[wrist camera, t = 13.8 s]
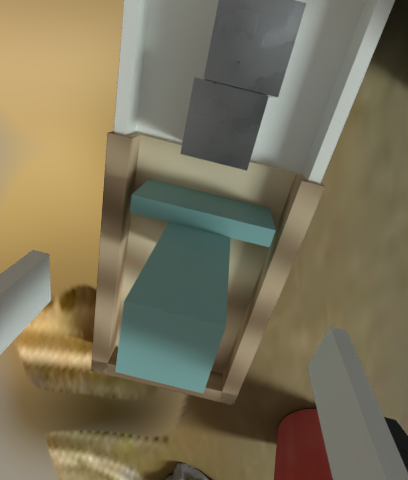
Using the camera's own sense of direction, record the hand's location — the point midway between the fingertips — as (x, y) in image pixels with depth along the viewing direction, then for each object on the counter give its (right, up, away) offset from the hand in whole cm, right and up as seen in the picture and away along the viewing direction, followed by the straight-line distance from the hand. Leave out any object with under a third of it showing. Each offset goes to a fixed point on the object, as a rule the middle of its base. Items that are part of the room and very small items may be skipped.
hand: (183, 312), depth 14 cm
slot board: (0, 0, +12) cm, 12 cm away
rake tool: (+1, +4, +9) cm, 10 cm away
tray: (+3, +15, +5) cm, 16 cm away
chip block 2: (+2, +11, +6) cm, 13 cm away
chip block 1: (+4, +15, +4) cm, 16 cm away
